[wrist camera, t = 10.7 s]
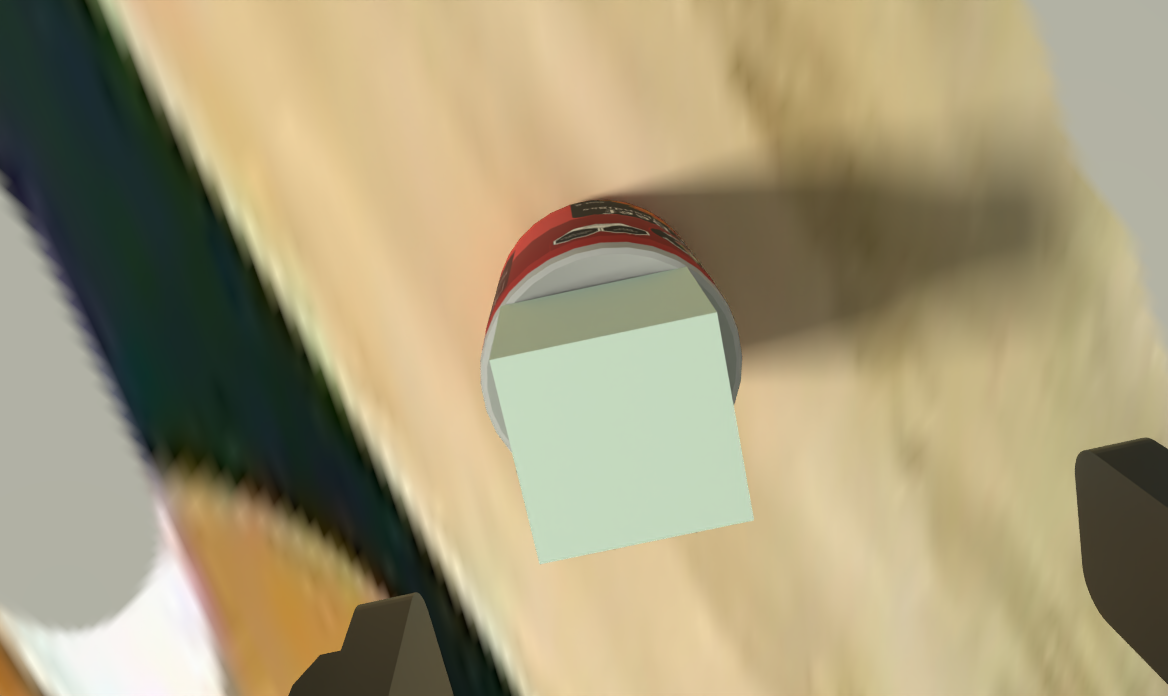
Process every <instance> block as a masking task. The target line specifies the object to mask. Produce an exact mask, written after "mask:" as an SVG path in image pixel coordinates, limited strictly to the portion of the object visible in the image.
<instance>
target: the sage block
mask: <svg viewBox="0 0 1168 696" xmlns="http://www.w3.org/2000/svg"><path fill="white" fill-rule="evenodd" d="M489 361H490V365H491V369H492V373H493V377H494V381H495V385H496V389H497V393H498V397H499V401H500V405H501V410H502V414H503V418H504V422H505V426H506V430H507V434H508V438H509V442H510V446H511V450H512V454H513V458H514V462H515V466H516V470H517V474H518V478H519V482H520V486H521V490H522V495H523V499H524V503H525V507H526V511H527V515H528V519H529V523H530V527H531V531H532V535H533V539H534V543H535V547H536V551H537V555H538V559H539V563H540V564H543V563H548V562H553V561H558V560H563V559H568V558H573V557H577V556H582V555H587V554H592V553H597V552H602V551H607V550H612V549H617V548H621V547H626V546H631V545H636V544H641V543H646V542H651V541H656V540H660V539H665V538H670V537H675V536H680V535H685V534H690V533H695V532H700V531H704V530H709V529H714V528H719V527H724V526H729V525H734V524H739V523H744V522H748V521H753V520H754V518H753V512H752V506H751V501H750V495H749V490H748V484H747V478H746V473H745V467H744V461H743V456H742V450H741V445H740V439H739V433H738V428H737V422H736V416H735V411H734V405H733V399H732V394H731V388H730V383H729V377H728V371H727V366H726V360H725V354H724V349H723V343H722V338H721V332H720V326H719V321H718V315H717V311H716V310H715V308H714V307H713V305H712V304H711V302H710V301H709V299H708V298H707V296H706V295H705V293H704V292H703V290H702V289H701V287H700V286H699V284H698V283H697V281H696V280H695V278H694V277H693V275H692V274H691V272H690V271H689V269H688V268H687V267H682V268H678V269H673V270H668V271H663V272H658V273H654V274H649V275H644V276H640V277H635V278H630V279H625V280H621V281H616V282H611V283H607V284H602V285H597V286H592V287H588V288H583V289H578V290H574V291H569V292H564V293H559V294H555V295H550V296H545V297H541V298H536V299H531V300H526V301H522V302H517V303H512V304H508V305H503V306H501V307H500V311H499V316H498V321H497V326H496V331H495V335H494V340H493V345H492V350H491V354H490V359H489Z"/></svg>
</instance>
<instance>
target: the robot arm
mask: <svg viewBox="0 0 1168 696" xmlns="http://www.w3.org/2000/svg"><path fill="white" fill-rule="evenodd" d="M1075 480H1076V492H1077V505H1078V517H1079V529H1080V542H1081V554H1082V566H1083V573H1084V577H1085V581H1086V585H1087V588H1088V590H1089V593H1090V595H1091V598H1092V600H1093V602H1094V604H1095V606H1096V608H1097V609H1098V611H1099V613H1100V614H1101V615H1102V617H1103V618H1104V619H1105V620H1106V622H1107V623H1108V624H1109V625H1110V626H1111V627H1112V628H1113V629H1114V630H1115V631H1116V632H1117V633H1118V634H1119V635H1120V636H1121V637H1122V638H1123V639H1124V640H1125V641H1126V642H1127V643H1128V644H1129V645H1130V646H1131V647H1132V648H1133V649H1134V650H1135V651H1136V652H1137V653H1138V654H1139V655H1140V656H1141V657H1142V658H1143V659H1144V660H1145V662H1146V663H1147V664H1148V665H1149V666H1150V667H1151V668H1152V669H1153V670H1154V671H1155V672H1156V673H1157V674H1158V675H1159V676H1160V677H1161V678H1162V679H1163V680H1164V681H1165V682H1166V683H1167V684H1168V449H1167V448H1165V447H1164V446H1162V445H1161V444H1159V443H1158V442H1156V441H1154V440H1152V439H1150V438H1140V439H1136V440H1131V441H1126V442H1122V443H1117V444H1112V445H1108V446H1103V447H1098V448H1094V449H1089V450H1084V451H1082V452H1080V454H1079V455H1078V457H1077V459H1076V463H1075ZM289 696H453V692H452V689H451V686H450V683H449V679H448V676H447V673H446V669H445V666H444V663H443V659H442V656H441V653H440V649H439V646H438V643H437V640H436V636H435V633H434V630H433V626H432V623H431V620H430V616H429V613H428V610H427V607H426V605H425V602H424V600H423V598H422V597H421V595H420V594H419V593H412V594H407V595H403V596H398V597H393V598H389V599H384V600H379V601H375V602H370V603H365V604H361V605H358V606H357V607H356V609H355V611H354V614H353V617H352V620H351V622H350V625H349V628H348V631H347V634H346V637H345V640H344V643H343V646H342V649H341V651H337V652H332V653H327V654H323V655H320V656H319V657H318V658H317V659H316V660H315V661H314V662H313V663H312V665H311V666H310V667H309V668H308V669H307V670H306V671H305V672H304V673H303V675H302V676H301V677H300V678H299V679H298V680H297V681H296V682H295V683H294V684H293V686H292V688H291V691H290V693H289Z"/></svg>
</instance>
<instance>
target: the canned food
mask: <svg viewBox="0 0 1168 696" xmlns="http://www.w3.org/2000/svg"><path fill="white" fill-rule="evenodd" d="M682 267H687V268H688V269H689V271H690V272H691V274H692V275H693V277H694V278H695V280H696V281H697V283H698V284H699V286H700V287H701V289H702V290H703V292H704V293H705V295H706V296H707V298H708V299H709V301H710V302H711V304H712V305H713V307H714V308H715V310H716V311H717V315H718V321H719V326H720V332H721V338H722V343H723V349H724V354H725V360H726V366H727V371H728V377H729V383H730V388H731V394H732V399H733V405H734V403H735V400H736V396H737V392H738V389H739V385H740V381H741V367H742V353H741V347H740V340H739V334H738V329H737V326H736V323H735V321H734V318H733V316H732V313H731V310H730V308H729V305H728V304H727V302H726V301H725V299H724V297H723V296H722V294H721V293H720V291H719V290H718V288H717V287H716V285H715V284H714V282H713V281H712V279H711V278H710V276H709V275H708V274H707V272H706V271H705V270H704V269H703V267H702V266H701V265H700V263H699V262H698V261H697V259H696V258H695V257H694V256H693V254H692V253H691V252H690V250H689V249H688V248H687V246H686V245H685V244H684V242H683V241H682V240H681V239H680V237H679V236H678V235H677V234H676V233H675V232H674V231H673V230H672V229H671V228H670V227H669V226H668V225H667V224H666V223H665V222H664V221H663V220H662V219H660V218H658V217H657V216H655V215H654V214H652V213H651V212H649V211H647V210H645V209H642V208H640V207H637V206H634V205H632V204H629V203H623V202H617V201H611V200H597V201H586V202H581V203H577V204H572V205H569V206H566V207H564V208H562V209H559V210H557V211H555V212H552V213H550V214H549V215H547V216H546V217H544V218H543V219H541V220H540V221H538V222H537V223H535V224H534V225H533V226H532V227H531V228H530V229H529V230H528V231H527V232H526V233H525V234H524V235H523V236H522V237H521V238H520V239H519V241H518V242H517V244H516V245H515V247H514V248H513V250H512V251H511V253H510V254H509V256H508V258H507V261H506V263H505V265H504V268H503V270H502V273H501V276H500V280H499V284H498V287H497V291H496V295H495V298H494V302H493V306H492V309H491V313H490V317H489V321H488V324H487V328H486V333H485V338H484V344H483V349H482V355H481V386H482V393H483V397H484V401H485V406H486V410H487V413H488V415H489V417H490V420H491V422H492V424H493V426H494V428H495V430H496V432H497V434H498V435H499V437H500V438H501V439H502V441H503V442H504V443H505V445H506V446H507V447H508V449H509V450H510V451H511V452H512V450H511V446H510V442H509V438H508V434H507V430H506V426H505V422H504V418H503V414H502V410H501V405H500V401H499V397H498V393H497V389H496V385H495V381H494V377H493V373H492V369H491V365H490V361H489V359H490V354H491V350H492V345H493V340H494V335H495V331H496V326H497V321H498V316H499V311H500V307H501V306H503V305H508V304H512V303H517V302H522V301H526V300H531V299H536V298H541V297H545V296H550V295H555V294H559V293H564V292H569V291H574V290H578V289H583V288H588V287H592V286H597V285H602V284H607V283H611V282H616V281H621V280H625V279H630V278H635V277H640V276H644V275H649V274H654V273H658V272H663V271H668V270H673V269H678V268H682Z"/></svg>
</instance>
